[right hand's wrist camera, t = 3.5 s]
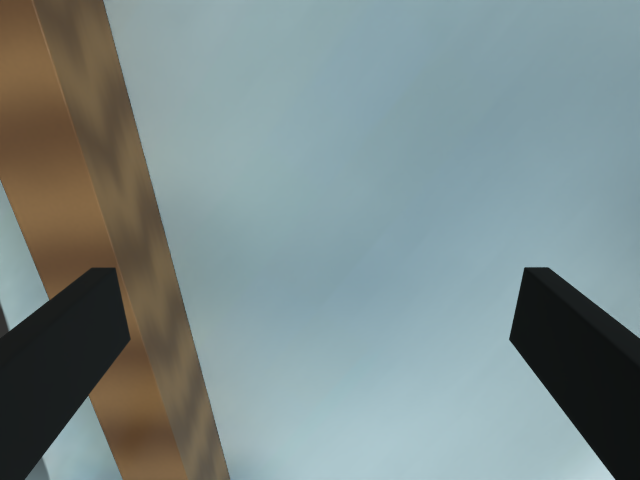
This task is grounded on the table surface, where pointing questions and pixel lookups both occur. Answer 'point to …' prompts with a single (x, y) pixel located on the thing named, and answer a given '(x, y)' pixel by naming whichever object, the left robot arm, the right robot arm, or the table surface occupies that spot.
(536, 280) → the right robot arm
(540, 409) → the table surface
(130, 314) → the bar
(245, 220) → the table surface
